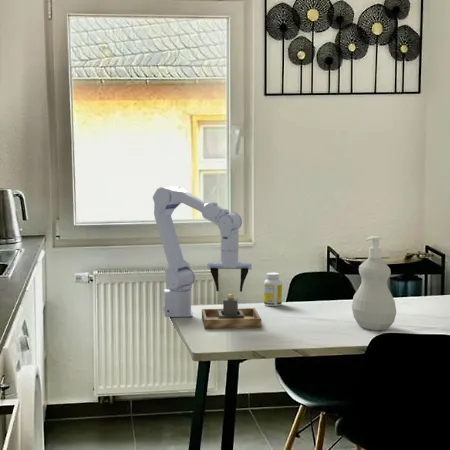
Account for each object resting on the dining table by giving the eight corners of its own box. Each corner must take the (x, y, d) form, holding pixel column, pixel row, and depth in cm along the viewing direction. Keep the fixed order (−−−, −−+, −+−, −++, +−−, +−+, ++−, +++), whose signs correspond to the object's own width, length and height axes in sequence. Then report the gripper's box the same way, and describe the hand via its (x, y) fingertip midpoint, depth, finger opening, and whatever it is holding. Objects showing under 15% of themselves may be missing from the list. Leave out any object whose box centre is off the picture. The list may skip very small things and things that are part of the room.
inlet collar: (219, 323, 255) (219, 315, 254) (217, 317, 263) (217, 310, 262) (244, 322, 255) (244, 315, 255) (241, 317, 263) (241, 310, 263)
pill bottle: (281, 303, 290) (282, 272, 289) (281, 307, 284) (281, 275, 283) (264, 302, 291) (264, 271, 290) (263, 306, 284) (263, 274, 283)
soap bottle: (342, 324, 257) (344, 234, 254) (369, 320, 263) (371, 232, 260) (376, 335, 243) (379, 240, 240) (405, 331, 249) (407, 238, 246)
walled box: (204, 328, 250) (204, 319, 250) (201, 317, 266) (201, 308, 266) (260, 328, 252) (261, 318, 252) (254, 316, 268) (254, 308, 267)
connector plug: (223, 321, 257) (223, 295, 256) (224, 318, 262) (224, 293, 261) (237, 321, 257) (237, 296, 256) (237, 318, 261) (238, 293, 260)
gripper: (251, 248, 262) (251, 288, 263) (208, 247, 262) (207, 288, 263) (251, 251, 255) (251, 292, 256) (206, 250, 255) (206, 292, 256)
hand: (229, 290), depth 259 cm, fingers open, 7 cm apart
